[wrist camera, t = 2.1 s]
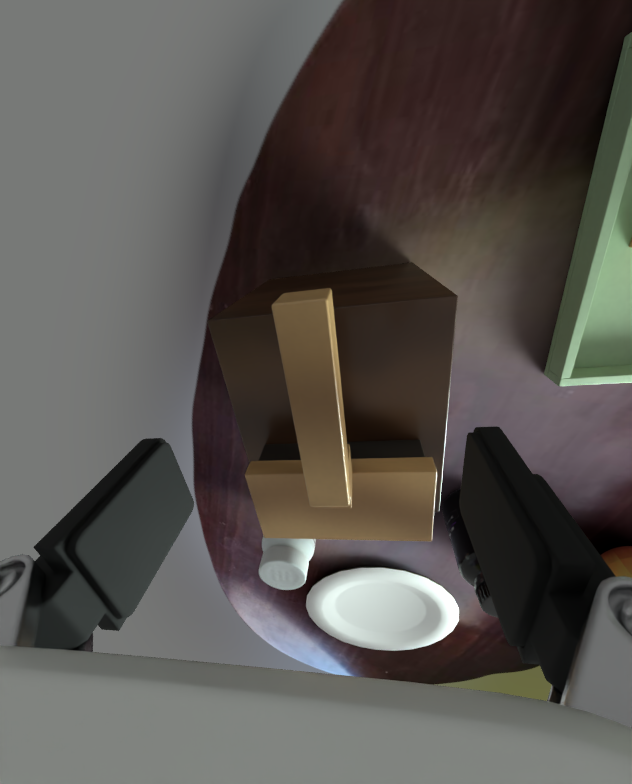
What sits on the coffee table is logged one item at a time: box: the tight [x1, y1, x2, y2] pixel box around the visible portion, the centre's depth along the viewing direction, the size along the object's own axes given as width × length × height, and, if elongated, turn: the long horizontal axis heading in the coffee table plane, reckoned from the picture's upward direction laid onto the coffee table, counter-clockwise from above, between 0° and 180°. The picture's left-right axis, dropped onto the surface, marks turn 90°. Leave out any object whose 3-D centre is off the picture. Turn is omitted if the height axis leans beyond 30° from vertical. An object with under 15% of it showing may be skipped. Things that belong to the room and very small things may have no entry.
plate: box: [306, 566, 459, 651], centre depth 52 cm, size 25×25×2 cm
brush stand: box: [207, 262, 458, 512], centre depth 25 cm, size 15×13×14 cm
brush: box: [245, 288, 437, 541], centre depth 16 cm, size 16×11×6 cm
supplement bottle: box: [442, 489, 498, 617], centre depth 35 cm, size 7×7×12 cm
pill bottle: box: [259, 535, 316, 590], centre depth 37 cm, size 6×6×11 cm
